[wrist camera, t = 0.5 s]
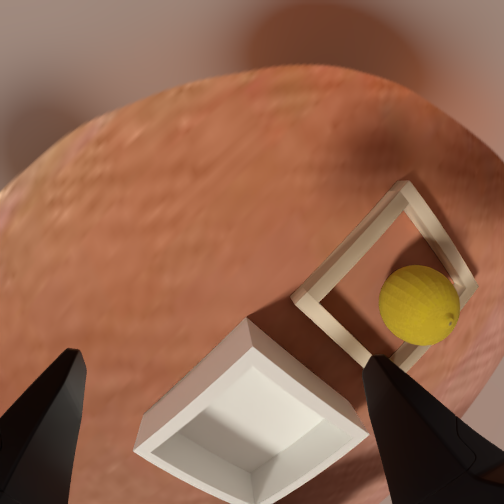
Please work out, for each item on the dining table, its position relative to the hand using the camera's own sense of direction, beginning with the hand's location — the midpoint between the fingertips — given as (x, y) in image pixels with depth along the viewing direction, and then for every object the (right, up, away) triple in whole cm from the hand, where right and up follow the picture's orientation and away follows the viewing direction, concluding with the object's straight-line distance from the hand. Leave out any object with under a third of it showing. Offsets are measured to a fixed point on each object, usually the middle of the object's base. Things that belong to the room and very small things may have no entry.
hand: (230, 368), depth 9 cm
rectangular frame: (+12, 0, +16) cm, 20 cm away
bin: (0, -10, +17) cm, 20 cm away
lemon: (+12, 0, +16) cm, 20 cm away
